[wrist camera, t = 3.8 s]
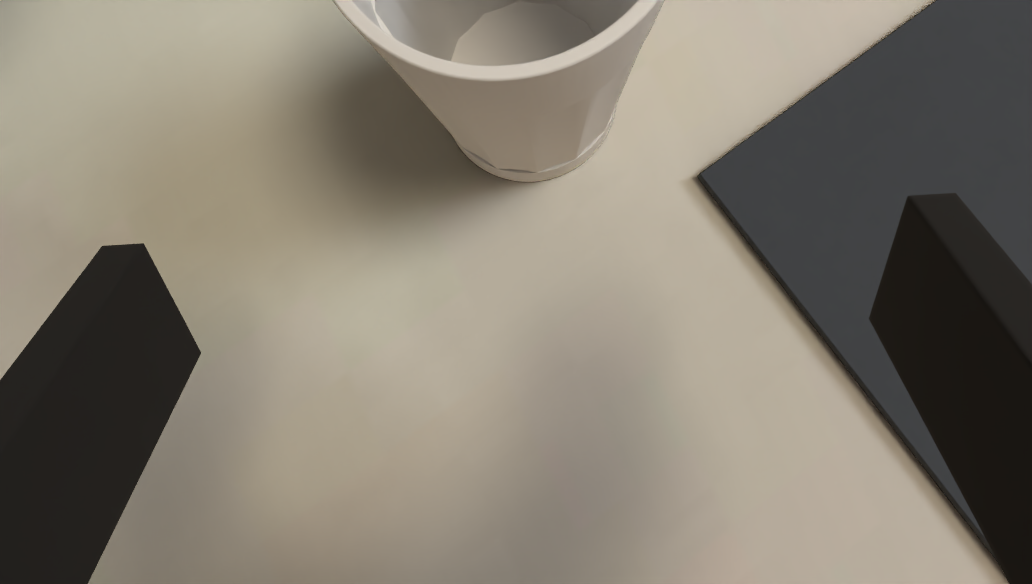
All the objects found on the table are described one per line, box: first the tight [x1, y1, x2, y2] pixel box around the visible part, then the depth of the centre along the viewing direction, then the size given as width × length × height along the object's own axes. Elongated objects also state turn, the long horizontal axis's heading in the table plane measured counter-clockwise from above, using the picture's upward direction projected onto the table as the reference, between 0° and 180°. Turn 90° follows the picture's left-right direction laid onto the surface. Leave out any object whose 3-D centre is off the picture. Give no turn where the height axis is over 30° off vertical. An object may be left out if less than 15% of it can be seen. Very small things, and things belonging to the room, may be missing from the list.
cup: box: [333, 0, 665, 182], centre depth 20 cm, size 8×8×12 cm
